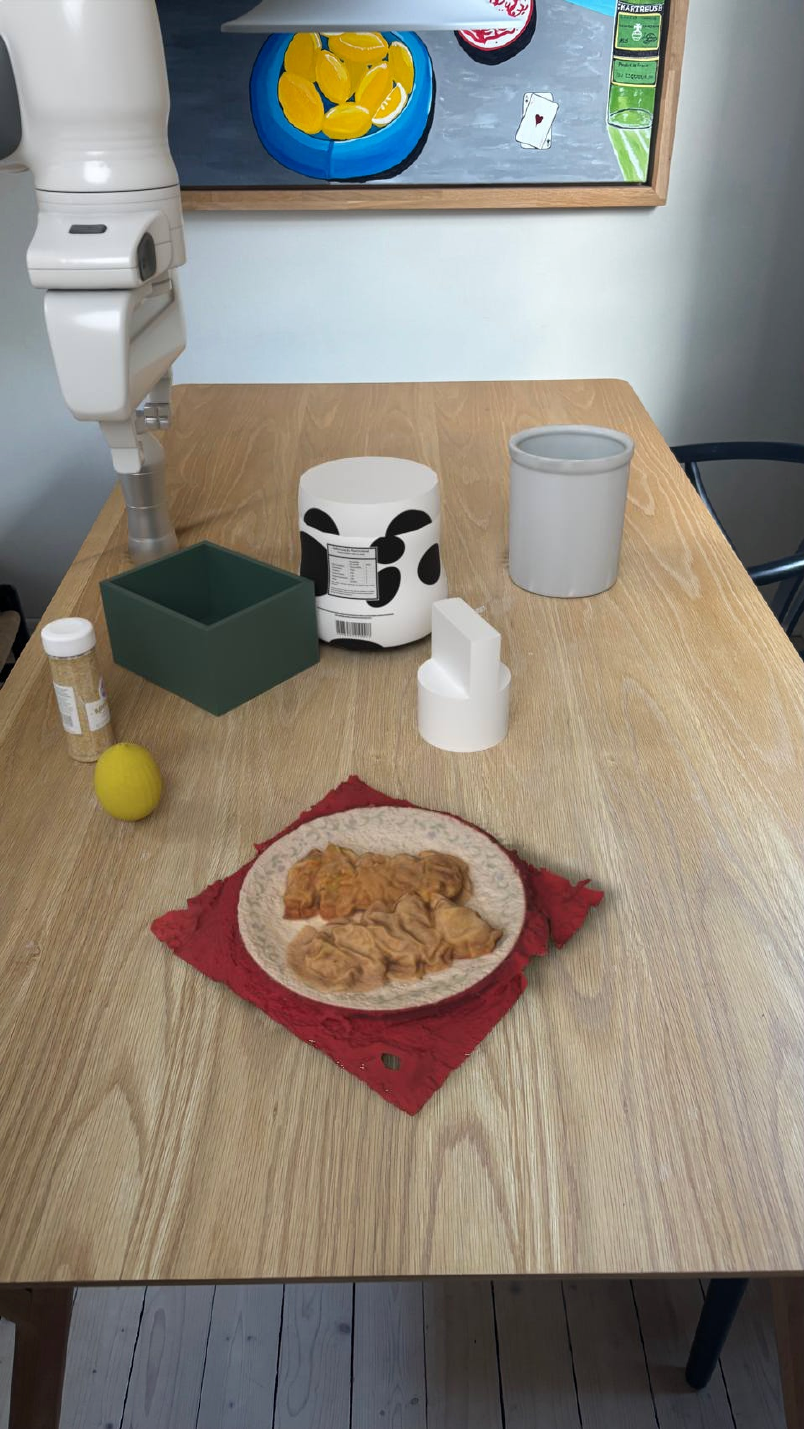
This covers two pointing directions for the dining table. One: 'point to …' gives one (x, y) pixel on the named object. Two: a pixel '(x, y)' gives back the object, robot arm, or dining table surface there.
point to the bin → (211, 624)
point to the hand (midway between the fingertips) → (146, 447)
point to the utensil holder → (567, 508)
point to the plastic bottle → (148, 502)
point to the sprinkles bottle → (79, 687)
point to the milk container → (372, 550)
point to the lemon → (127, 782)
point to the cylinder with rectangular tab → (463, 682)
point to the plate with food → (379, 934)
